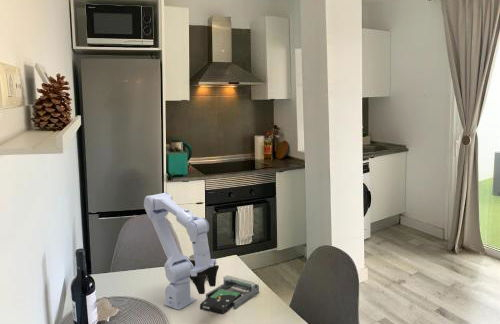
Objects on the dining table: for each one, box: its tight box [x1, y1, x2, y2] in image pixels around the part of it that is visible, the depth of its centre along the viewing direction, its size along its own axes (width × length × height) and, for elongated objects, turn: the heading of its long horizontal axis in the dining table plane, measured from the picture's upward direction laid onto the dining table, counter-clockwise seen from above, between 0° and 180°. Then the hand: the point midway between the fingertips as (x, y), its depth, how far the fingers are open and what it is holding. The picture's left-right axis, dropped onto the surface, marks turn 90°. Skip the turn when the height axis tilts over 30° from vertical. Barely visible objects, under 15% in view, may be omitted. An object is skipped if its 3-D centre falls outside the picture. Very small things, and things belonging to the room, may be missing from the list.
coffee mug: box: [187, 253, 207, 280], centre depth 183 cm, size 12×9×10 cm
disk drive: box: [199, 289, 243, 315], centre depth 158 cm, size 10×3×15 cm
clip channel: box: [205, 274, 260, 310], centre depth 164 cm, size 16×14×5 cm
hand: (207, 289), depth 148 cm, fingers open, 7 cm apart
